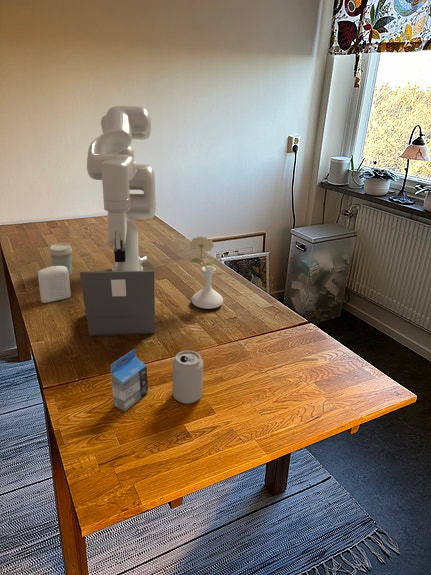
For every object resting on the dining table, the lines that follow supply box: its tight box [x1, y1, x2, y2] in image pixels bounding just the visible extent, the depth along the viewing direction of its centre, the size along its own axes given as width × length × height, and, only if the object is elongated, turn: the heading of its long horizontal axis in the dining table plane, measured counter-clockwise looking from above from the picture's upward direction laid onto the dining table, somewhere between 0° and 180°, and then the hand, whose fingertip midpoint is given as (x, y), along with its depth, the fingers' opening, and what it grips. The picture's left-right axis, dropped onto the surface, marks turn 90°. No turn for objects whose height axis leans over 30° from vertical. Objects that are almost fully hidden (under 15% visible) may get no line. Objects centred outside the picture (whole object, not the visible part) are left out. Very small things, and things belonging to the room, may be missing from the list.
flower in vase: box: [189, 236, 224, 310], centre depth 156 cm, size 13×11×25 cm
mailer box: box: [86, 315, 155, 337], centre depth 146 cm, size 16×20×7 cm
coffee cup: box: [48, 243, 73, 278], centre depth 176 cm, size 8×8×12 cm
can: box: [172, 350, 204, 404], centre depth 113 cm, size 8×8×12 cm
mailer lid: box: [79, 270, 156, 319], centre depth 132 cm, size 17×20×1 cm
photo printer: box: [37, 265, 72, 304], centre depth 158 cm, size 10×4×12 cm, turn 123°
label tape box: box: [110, 348, 149, 412], centre depth 111 cm, size 9×4×12 cm, turn 148°
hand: (120, 261), depth 141 cm, fingers closed
